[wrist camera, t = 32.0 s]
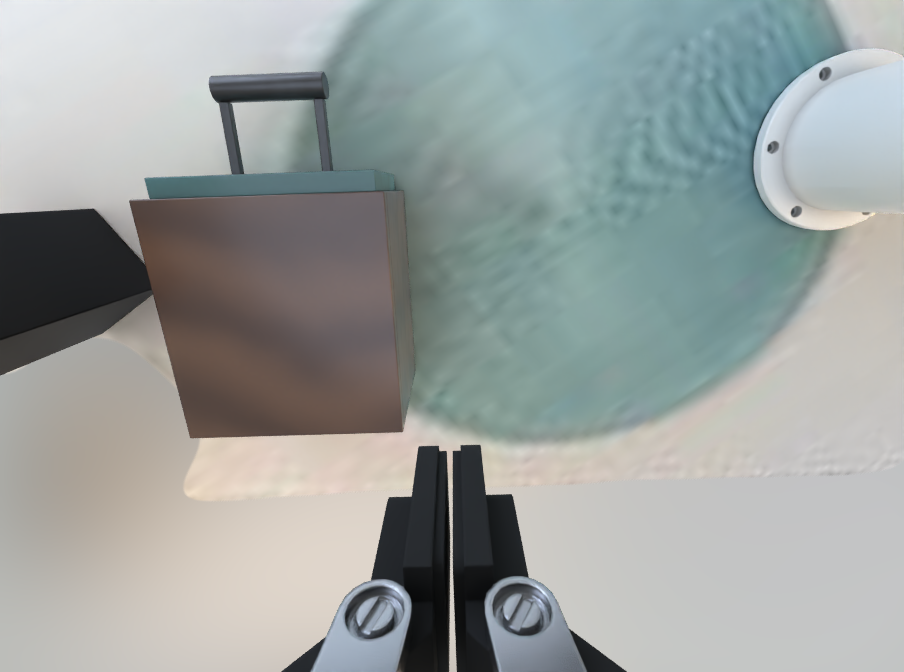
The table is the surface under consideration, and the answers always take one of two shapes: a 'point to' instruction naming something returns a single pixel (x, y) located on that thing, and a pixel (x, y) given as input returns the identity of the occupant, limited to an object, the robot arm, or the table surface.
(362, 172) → the drawer
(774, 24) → the table surface
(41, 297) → the black square column
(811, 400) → the table surface
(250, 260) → the cabinet
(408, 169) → the table surface
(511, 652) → the robot arm
